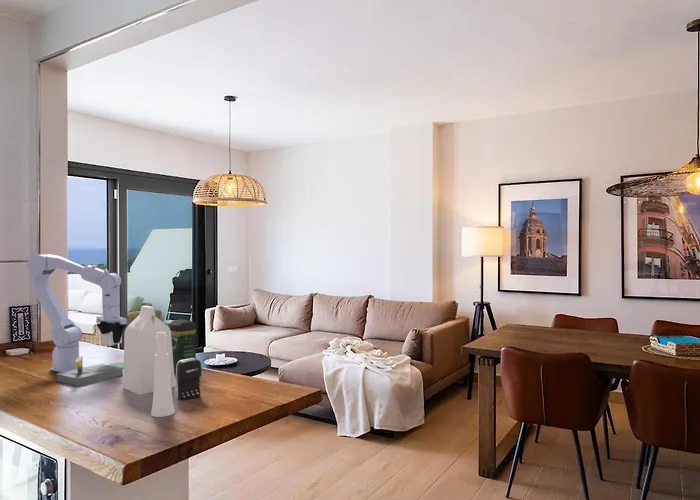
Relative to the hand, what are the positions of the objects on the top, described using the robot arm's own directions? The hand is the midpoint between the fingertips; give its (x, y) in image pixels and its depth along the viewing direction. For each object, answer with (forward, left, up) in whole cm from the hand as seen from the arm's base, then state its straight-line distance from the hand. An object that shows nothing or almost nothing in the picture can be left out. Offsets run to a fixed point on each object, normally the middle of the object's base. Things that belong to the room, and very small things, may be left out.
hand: (111, 342), depth 188 cm
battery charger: (+55, -9, -10) cm, 56 cm away
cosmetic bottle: (+60, -22, -10) cm, 65 cm away
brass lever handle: (+8, -17, -7) cm, 20 cm away
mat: (-1, +2, -10) cm, 10 cm away
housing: (+6, -12, -10) cm, 16 cm away
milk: (+34, -8, -10) cm, 36 cm away
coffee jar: (+27, +11, -10) cm, 31 cm away
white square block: (0, 0, 0) cm, 1 cm away
